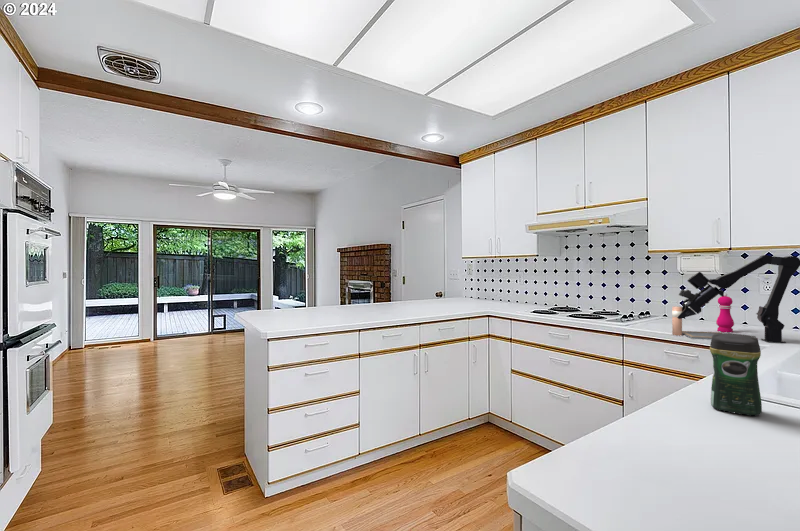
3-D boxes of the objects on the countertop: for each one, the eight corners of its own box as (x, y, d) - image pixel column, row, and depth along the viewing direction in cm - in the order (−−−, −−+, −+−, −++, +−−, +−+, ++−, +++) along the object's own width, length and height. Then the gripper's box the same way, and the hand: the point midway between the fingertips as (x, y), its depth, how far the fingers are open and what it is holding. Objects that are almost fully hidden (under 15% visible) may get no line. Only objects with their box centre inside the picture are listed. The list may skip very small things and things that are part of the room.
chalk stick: (683, 335, 198) (683, 307, 198) (673, 335, 199) (673, 307, 199) (680, 334, 202) (680, 306, 202) (671, 334, 203) (670, 306, 203)
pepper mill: (727, 330, 213) (727, 292, 213) (737, 332, 205) (737, 293, 205) (713, 330, 213) (712, 292, 213) (722, 332, 206) (722, 293, 206)
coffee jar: (761, 410, 98) (760, 333, 98) (762, 419, 92) (762, 338, 92) (710, 401, 104) (710, 329, 104) (709, 410, 98) (708, 333, 98)
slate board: (737, 340, 185) (737, 338, 185) (691, 338, 190) (691, 336, 190) (721, 334, 200) (721, 332, 200) (679, 333, 206) (679, 330, 206)
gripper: (688, 283, 206) (662, 303, 211) (692, 284, 189) (664, 306, 195) (707, 299, 202) (680, 319, 207) (713, 302, 185) (684, 324, 191)
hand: (677, 317), depth 200 cm, fingers open, 9 cm apart
